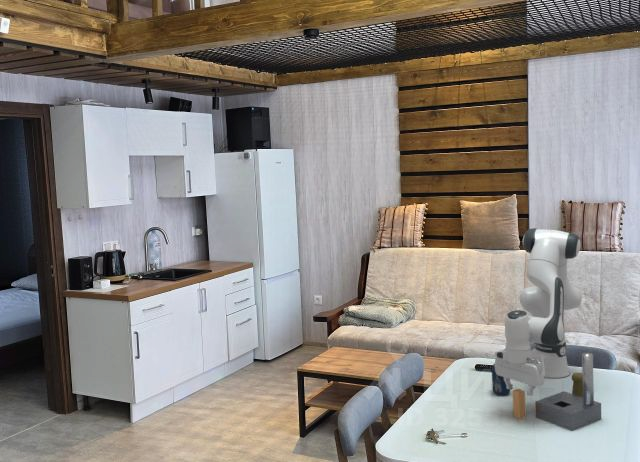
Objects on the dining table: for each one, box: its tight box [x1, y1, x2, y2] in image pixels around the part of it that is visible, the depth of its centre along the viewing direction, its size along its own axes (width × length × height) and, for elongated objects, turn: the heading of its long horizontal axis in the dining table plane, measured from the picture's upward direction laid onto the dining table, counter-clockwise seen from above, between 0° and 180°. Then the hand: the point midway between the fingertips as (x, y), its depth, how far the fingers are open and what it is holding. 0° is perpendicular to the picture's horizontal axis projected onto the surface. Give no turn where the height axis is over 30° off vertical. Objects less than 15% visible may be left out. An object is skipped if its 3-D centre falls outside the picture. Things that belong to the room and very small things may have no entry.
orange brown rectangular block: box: [512, 388, 527, 420], centre depth 241 cm, size 3×3×10 cm
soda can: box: [491, 363, 511, 397], centre depth 265 cm, size 7×7×12 cm
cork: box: [571, 372, 583, 397], centre depth 252 cm, size 6×6×11 cm
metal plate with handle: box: [534, 352, 602, 432], centre depth 236 cm, size 16×16×24 cm
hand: (519, 392), depth 240 cm, fingers open, 8 cm apart
